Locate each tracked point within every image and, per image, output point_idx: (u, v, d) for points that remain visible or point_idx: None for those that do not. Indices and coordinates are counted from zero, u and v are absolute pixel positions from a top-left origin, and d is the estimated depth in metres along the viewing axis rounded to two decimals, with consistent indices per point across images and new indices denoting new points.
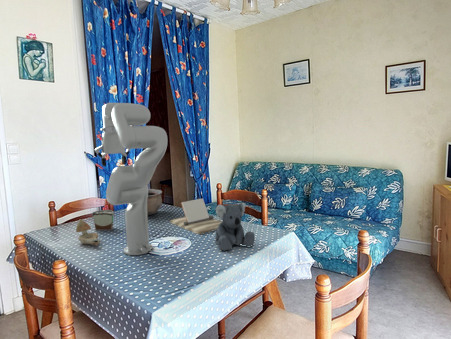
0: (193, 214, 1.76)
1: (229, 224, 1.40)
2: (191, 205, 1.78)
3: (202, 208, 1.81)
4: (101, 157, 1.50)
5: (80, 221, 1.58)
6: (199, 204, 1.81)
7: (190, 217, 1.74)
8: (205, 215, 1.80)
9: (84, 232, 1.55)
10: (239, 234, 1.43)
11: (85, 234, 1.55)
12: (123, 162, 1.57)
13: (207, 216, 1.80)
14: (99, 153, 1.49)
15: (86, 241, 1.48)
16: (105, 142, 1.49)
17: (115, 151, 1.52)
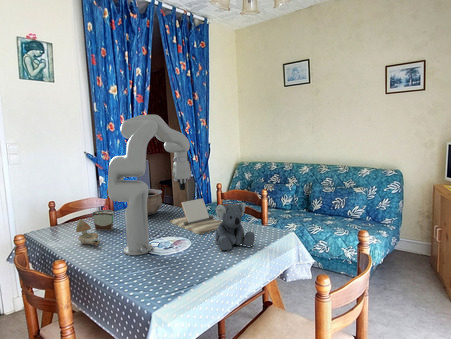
0: (193, 214, 1.76)
1: (229, 224, 1.40)
2: (191, 205, 1.78)
3: (202, 208, 1.81)
4: (180, 183, 1.87)
5: (80, 221, 1.58)
6: (199, 204, 1.81)
7: (190, 217, 1.74)
8: (205, 215, 1.80)
9: (84, 232, 1.55)
10: (239, 234, 1.43)
11: (85, 234, 1.55)
12: None
13: (207, 216, 1.80)
14: (178, 180, 1.86)
15: (86, 241, 1.48)
16: (177, 170, 1.83)
17: (184, 176, 1.86)
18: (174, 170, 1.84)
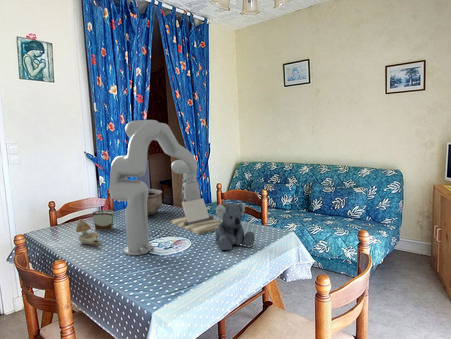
0: (193, 214, 1.76)
1: (229, 224, 1.40)
2: (191, 205, 1.78)
3: (202, 208, 1.81)
4: None
5: (80, 221, 1.58)
6: (199, 204, 1.81)
7: (190, 217, 1.74)
8: (205, 215, 1.80)
9: (84, 232, 1.55)
10: (239, 234, 1.43)
11: (85, 234, 1.55)
12: None
13: (207, 216, 1.80)
14: None
15: (86, 241, 1.48)
16: (186, 191, 1.76)
17: (193, 198, 1.79)
18: (183, 191, 1.77)
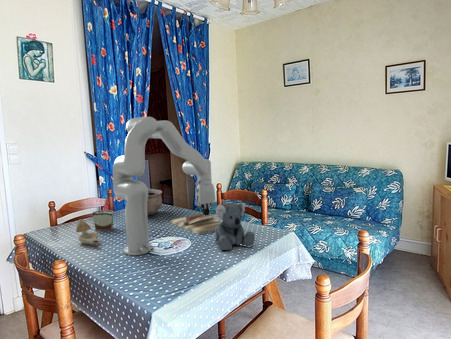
0: (198, 221, 1.72)
1: (229, 224, 1.40)
2: (204, 219, 1.69)
3: (211, 218, 1.75)
4: (204, 208, 1.69)
5: (80, 221, 1.58)
6: (212, 217, 1.72)
7: (194, 222, 1.72)
8: (207, 219, 1.78)
9: (84, 232, 1.55)
10: (239, 234, 1.43)
11: (85, 234, 1.55)
12: None
13: (208, 219, 1.80)
14: (202, 205, 1.68)
15: (86, 241, 1.48)
16: (201, 194, 1.65)
17: (208, 201, 1.68)
18: (198, 194, 1.67)
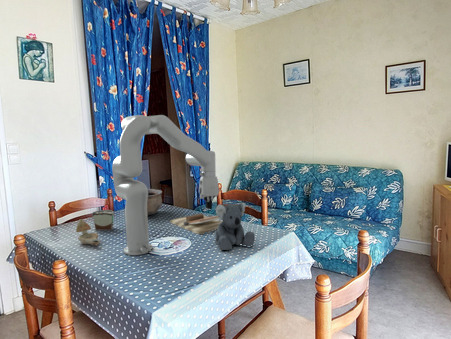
0: None
1: (229, 224, 1.40)
2: None
3: None
4: (206, 201, 1.65)
5: (80, 221, 1.58)
6: None
7: None
8: None
9: (84, 232, 1.55)
10: (239, 234, 1.43)
11: (85, 234, 1.55)
12: None
13: None
14: (205, 197, 1.64)
15: (86, 241, 1.48)
16: (204, 186, 1.61)
17: (211, 194, 1.64)
18: (201, 186, 1.62)
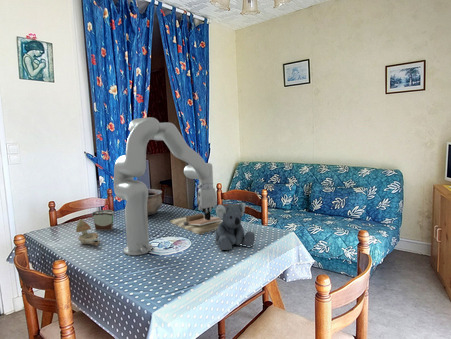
0: None
1: (229, 224, 1.40)
2: None
3: None
4: (205, 212, 1.68)
5: (80, 221, 1.58)
6: None
7: None
8: None
9: (84, 232, 1.55)
10: (239, 234, 1.43)
11: (85, 234, 1.55)
12: None
13: None
14: (204, 209, 1.67)
15: (86, 241, 1.48)
16: (202, 198, 1.64)
17: (210, 205, 1.67)
18: (199, 198, 1.66)
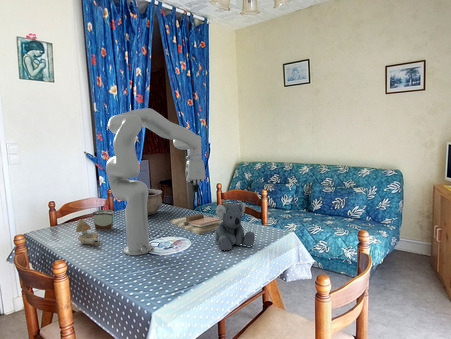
0: None
1: (229, 224, 1.40)
2: None
3: None
4: (193, 184, 1.69)
5: (80, 221, 1.58)
6: None
7: None
8: None
9: (84, 232, 1.55)
10: (239, 234, 1.43)
11: (85, 234, 1.55)
12: None
13: None
14: (191, 180, 1.68)
15: (86, 241, 1.48)
16: (190, 169, 1.65)
17: (197, 177, 1.68)
18: (187, 169, 1.66)
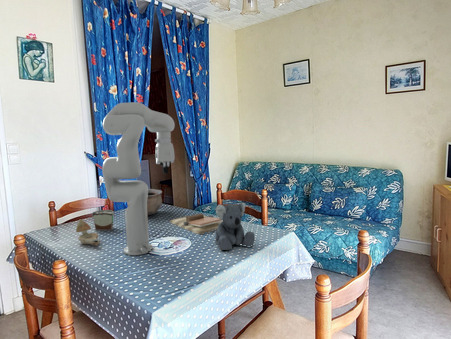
0: None
1: (229, 224, 1.40)
2: None
3: None
4: (163, 166, 1.75)
5: (80, 221, 1.58)
6: None
7: None
8: None
9: (84, 232, 1.55)
10: (239, 234, 1.43)
11: (85, 234, 1.55)
12: None
13: None
14: (161, 163, 1.74)
15: (86, 241, 1.48)
16: (159, 151, 1.71)
17: (167, 159, 1.74)
18: (156, 152, 1.72)
